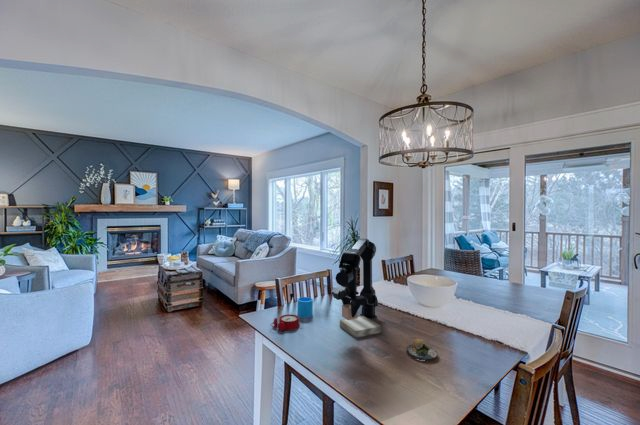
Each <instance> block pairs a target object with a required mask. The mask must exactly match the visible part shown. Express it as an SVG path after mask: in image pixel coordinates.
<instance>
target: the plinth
mask: <svg viewBox="0 0 640 425" xmlns="http://www.w3.org/2000/svg"><path fill="white" fill-rule="evenodd" d="M339 327H340V328H342V329H343V330H344V331H346V332H347V333H348V334H350V335H351V336H353V337H354V338H355V339H357V338H362V337H366V336H367V337H368V336H371V335H375V334H379V333H382V325H380V324H378V323H376V321H373V320H371V318H369V319H368V318H366V317H365V316H361V315H360V316H358V318H357V319H352V320H347V319H345V318H343V319H339Z"/></svg>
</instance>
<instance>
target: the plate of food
mask: <svg viewBox="0 0 640 425" xmlns="http://www.w3.org/2000/svg"><path fill="white" fill-rule="evenodd" d="M414 338H415V340H414V341H413V343H412V344H409V345H408V346H406V350H405V353H406V355H407V356H410V359H413V358H414V359H413V360H415V359H419V360H425V361H431V360H432V359H436V357H437V356H438V351H437V350H436V349H434V348H433V347H431V346H429V345H427V344H425V343H424V340H423V339H422V338H417V337H416V336H415V337H414Z"/></svg>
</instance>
